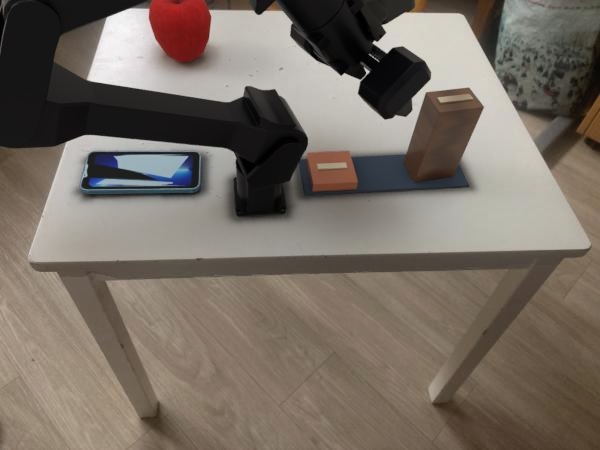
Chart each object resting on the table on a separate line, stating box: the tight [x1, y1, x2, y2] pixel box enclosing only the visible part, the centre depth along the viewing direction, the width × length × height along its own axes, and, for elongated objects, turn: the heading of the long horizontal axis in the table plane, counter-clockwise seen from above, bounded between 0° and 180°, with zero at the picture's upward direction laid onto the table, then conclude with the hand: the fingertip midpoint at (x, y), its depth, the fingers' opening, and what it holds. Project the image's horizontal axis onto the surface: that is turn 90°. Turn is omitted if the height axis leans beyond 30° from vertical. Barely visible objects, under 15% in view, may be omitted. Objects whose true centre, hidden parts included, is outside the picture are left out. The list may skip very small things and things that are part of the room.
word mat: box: [298, 153, 470, 197], centre depth 68 cm, size 23×7×1 cm, turn 98°
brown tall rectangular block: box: [404, 87, 485, 182], centre depth 64 cm, size 6×4×12 cm, turn 105°
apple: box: [148, 0, 212, 64], centre depth 78 cm, size 10×10×11 cm
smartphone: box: [79, 150, 203, 195], centre depth 64 cm, size 7×1×15 cm
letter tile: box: [305, 150, 358, 192], centre depth 66 cm, size 6×6×2 cm
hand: (384, 93), depth 58 cm, fingers open, 9 cm apart
